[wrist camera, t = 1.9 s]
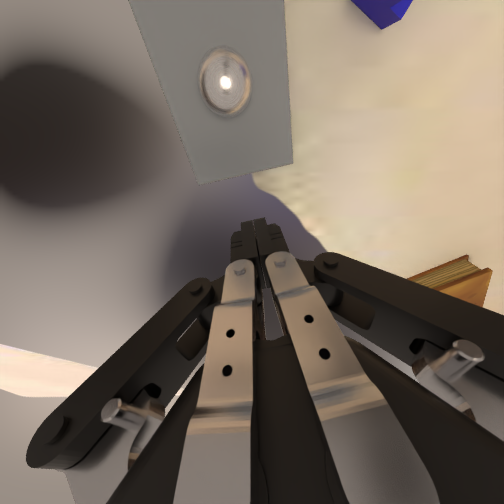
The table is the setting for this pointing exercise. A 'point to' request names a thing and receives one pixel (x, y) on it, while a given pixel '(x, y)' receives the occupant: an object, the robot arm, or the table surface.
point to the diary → (457, 280)
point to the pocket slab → (187, 89)
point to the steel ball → (225, 81)
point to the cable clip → (383, 10)
